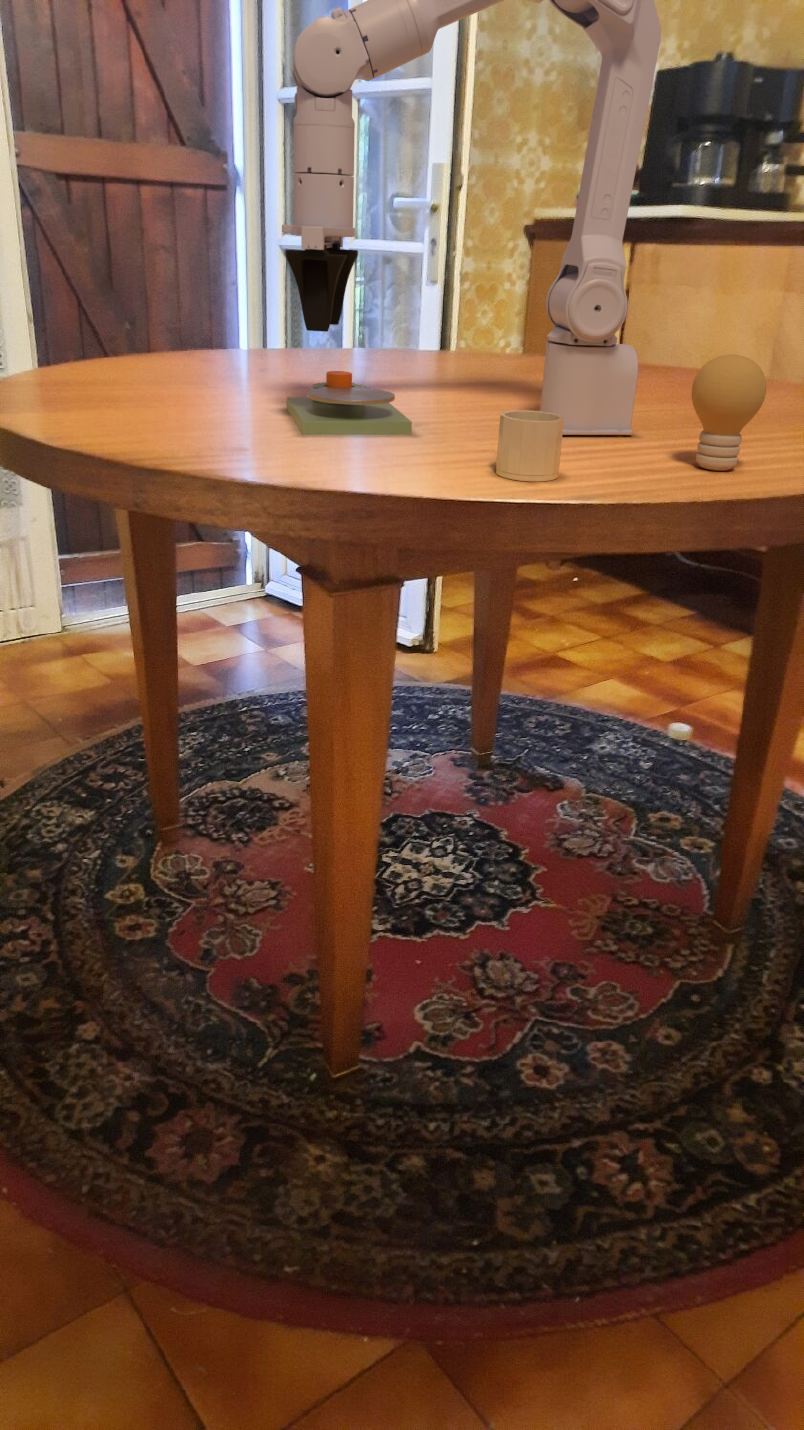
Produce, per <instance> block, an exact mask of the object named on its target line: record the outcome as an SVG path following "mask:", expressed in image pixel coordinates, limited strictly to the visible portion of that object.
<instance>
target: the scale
mask: <svg viewBox="0 0 804 1430" xmlns="http://www.w3.org/2000/svg"><path fill="white" fill-rule="evenodd" d="M352 387H358V388H367V387H366V386H365V385H364V384H359V383H354V382H352ZM311 388H312V389H317V388H326V381H324V382H316V383H314V384H312V387H311ZM312 389H311V390H312ZM286 410H287V413H288V414H289V415H290V417H291V419H292V420H293V422H294V423H295V425H296V426H297V428H298V430H299V431H300V433H301V435H302V436H412V429H413V422H412V421H411V420H410V419H409V417H407V416H406V415H405V414H403V413H402V412H401V411H400V410H398V409H397V408H396V407H395V406H394V405H392V404H391V402H388V403H383V404H371V405H348V404H334V403H326V402H320V401H315V400H312V399H310V398H308V397H307V396H286Z"/></svg>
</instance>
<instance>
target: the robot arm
mask: <svg viewBox="0 0 804 1430" xmlns="http://www.w3.org/2000/svg"><path fill="white" fill-rule="evenodd" d="M504 1H505V0H366V1H363V2H361V3H359V4H357V5H355V6H353V7H351V8H349V9H347V10H345V11H344V10H343V8H342V6H339V7H337V8H335V9H333V10H331V12H330V17H327V16H321V17H317V18H315V19H314V20H313V22H312V23H310V24H309V25H307V26H306V27H304V29H303V30H302V31H301V32H300V34H299V35H298V36H297V39H296V41H295V44H294V46H293V51H292V64H291V74H292V77H293V81H294V84H295V85H296V92H295V94H294V110H295V111H296V114H295V116H294V118H293V121H292V122H293V224H281V232H282V233H287V234H288V233H289V234H292V235H293V236H301V237H300V238H301V240H300V241H301V246H300V247H301V249H285V257H286V261H287V262H288V264H289V267H290V268H291V269H290V270H291V271H292V273H293V276H294V279H295V283H296V286H297V289H298V294H299V295H298V296H299V300H300V306H301V310H302V316H303V317H302V318H303V321H304V325H305V329H306V331H307V332H308V331H309V332H325V333H326V332H329V330H330V326H332V325H333V326H337V325H339V323H340V320H341V317H342V311H343V305H344V300H345V296H346V295H345V294H346V289H347V284H348V282H349V278H350V274H351V272H352V269H353V267H354V265H355V262H356V260H357V258H358V255H359V251H358V249H346V248H345V249H342V248H343V247H344V238H354V237H355V236H356V228H355V227H354V194H355V193H354V188H355V128H356V124H355V120H354V118H353V89H352V86H353V84H354V83H355V81H356V80H362V81H365V82H370V81H373V80H375V79H377V78H378V77H380V76H383V75H385V74H387V73H389V72H391V71H393V70H395V69H397V68H400V67H401V66H403V65H405V64H408V63H410V62H411V61H415V60H416V59H418V58H420V57H423V56H424V55H426V54H429V53H430V51H431V50H432V48H433V45H434V41H435V39H436V37H437V33H438V31H439V30H440V29H442V28H445V27H447V26H449V25H452V24H454V23H456V22H458V21H460V20H462V19H465V18H467V17H469V16H473V15H475V14H477V13H478V12H481V11H483V10H486V9H488V8H490V7H492V6H495V5H497V4H499V3H502V2H504ZM529 1H530V2H533V3H535V4H542V2H543V1H544V0H529ZM548 2H549V3H550V4H551V5H552V7H553V8H554V9H556V10H557V12H559V13H560V14H561V15H563V16H564V17H565V18H568V19H569V20H570V21H572V22H573V23H575V24H576V25H578V26H579V27H581V28H582V29H583V31H584V32H585V33H586V35H587V36H588V38H589V39H590V41H591V42H592V43H593V46H594V47H596V49H597V50H598V52H599V53H600V56H601V62H600V69H599V74H598V79H597V80H598V81H597V85H596V91H595V97H594V102H593V108H592V114H591V121H590V126H589V133H588V137H587V144H586V150H585V156H584V162H583V167H582V174H581V179H580V184H579V191H578V195H577V196H578V197H577V201H576V209H575V214H574V221H573V226H572V233H571V237H570V239H569V242H568V243H567V246H566V248H565V250H564V254H562V258H561V264H560V268H559V272H558V274H557V275H556V277H555V280H553V282H552V284H551V285H550V287H549V290H548V291H547V295H546V299H545V309H546V313H547V317H548V319H549V321H550V322H551V324H552V325H553V327H552V329H551V331H550V332H549V333H547V335H546V343H545V352H544V353H545V354H544V363H543V364H544V365H543V375H542V387H541V396H540V406H539V411H542V412H549V413H554V414H558V415H561V416H563V417H564V427H563V436H633V435H634V430H633V429H632V424H633V417H634V410H635V409H634V408H635V401H636V393H637V387H638V380H639V358H638V353H637V351H636V349H635V348H634V347H633V345H630V344H626V343H618V337H617V336H616V333H617V332H618V331H619V330H620V329H621V327H622V326H623V324H624V322H625V321H626V318H627V314H628V305H629V303H628V297H627V293H626V288H625V277H626V276H625V275H626V271H627V260H626V257H625V252H624V247H623V241H624V236H625V230H626V226H627V225H626V224H627V219H628V214H629V208H630V203H631V200H632V199H631V198H632V193H633V187H634V183H635V177H636V173H637V168H638V167H637V166H638V161H639V157H640V152H641V151H640V150H641V145H642V141H643V135H644V130H645V124H646V119H647V114H648V109H649V104H650V99H651V92H652V89H653V88H652V87H653V83H654V77H655V72H656V67H657V66H656V65H657V61H658V58H659V57H658V56H659V52H660V51H659V50H660V45H661V41H662V26H661V25H662V24H661V21H660V17H659V13H658V10H657V6H656V5H657V4H656V2H655V0H548Z"/></svg>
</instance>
